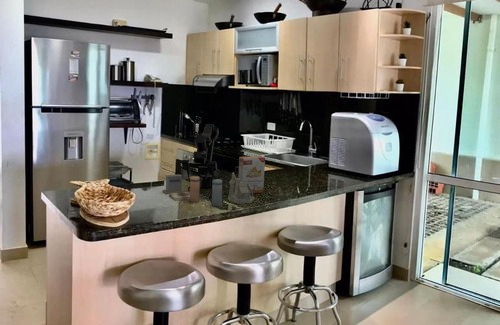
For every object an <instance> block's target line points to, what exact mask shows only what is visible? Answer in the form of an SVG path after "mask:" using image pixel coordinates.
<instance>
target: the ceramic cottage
mask: <svg viewBox="0 0 500 325" xmlns="http://www.w3.org/2000/svg"><path fill="white" fill-rule="evenodd" d="M228 183H229V189H228V196H227V201H229V202H231V203H233V202H234V204H236V203H237V205H246V204H245V203H247V204H250V202H251V203H252V202H253V201H254V200H255V196H254V194H253V190H254V189H253V186H252V184H246V181H245V180H244V182H240V179H239V177H236V175H235V172H232V173H231V179H230V180H229V182H228Z"/></svg>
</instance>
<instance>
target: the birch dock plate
mask: <svg viewBox="0 0 500 325" xmlns="http://www.w3.org/2000/svg"><path fill="white" fill-rule="evenodd" d="M168 197H169V198H171V199H173V201H175V202H177V201H188V200H189V201H190V191H185V192H180V193H169V194H168Z"/></svg>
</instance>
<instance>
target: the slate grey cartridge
mask: <svg viewBox="0 0 500 325" xmlns="http://www.w3.org/2000/svg"><path fill="white" fill-rule="evenodd" d="M212 187H213V188H211V189H212V196H211V200H212V201H211V206H212V207H221V206H223V205H222V201H223V200H222V199H223V179H220V178H219V179H217V178H216V179H214V178H213V179H212Z"/></svg>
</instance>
